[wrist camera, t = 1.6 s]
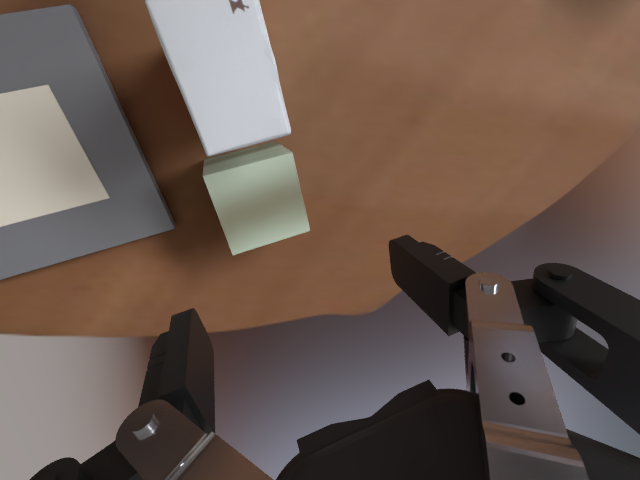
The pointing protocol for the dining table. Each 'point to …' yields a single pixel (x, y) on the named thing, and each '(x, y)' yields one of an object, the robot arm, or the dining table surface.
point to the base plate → (65, 148)
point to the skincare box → (223, 70)
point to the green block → (256, 196)
